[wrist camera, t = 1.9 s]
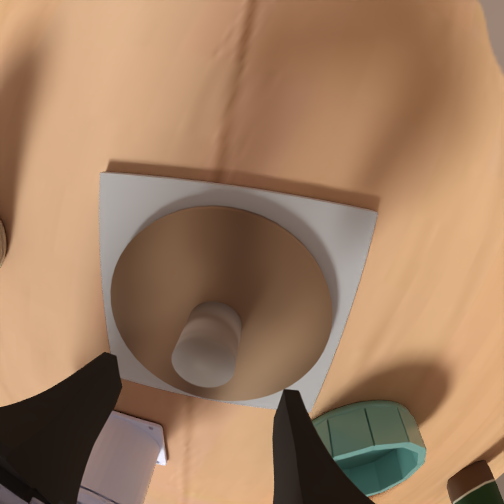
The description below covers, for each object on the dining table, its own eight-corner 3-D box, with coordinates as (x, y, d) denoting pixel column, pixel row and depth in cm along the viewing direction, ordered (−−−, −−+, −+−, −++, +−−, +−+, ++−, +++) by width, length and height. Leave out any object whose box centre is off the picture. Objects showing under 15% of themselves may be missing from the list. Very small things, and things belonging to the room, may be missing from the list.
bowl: (281, 465, 24) (281, 502, 20) (313, 398, 20) (318, 446, 16) (380, 463, 24) (388, 496, 19) (431, 397, 20) (449, 435, 16)
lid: (125, 371, 20) (102, 411, 15) (113, 192, 15) (67, 210, 11) (301, 402, 19) (304, 450, 15) (355, 227, 15) (383, 257, 11)
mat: (117, 371, 20) (115, 376, 20) (105, 171, 15) (100, 172, 15) (309, 406, 20) (310, 412, 20) (374, 210, 15) (378, 212, 14)
